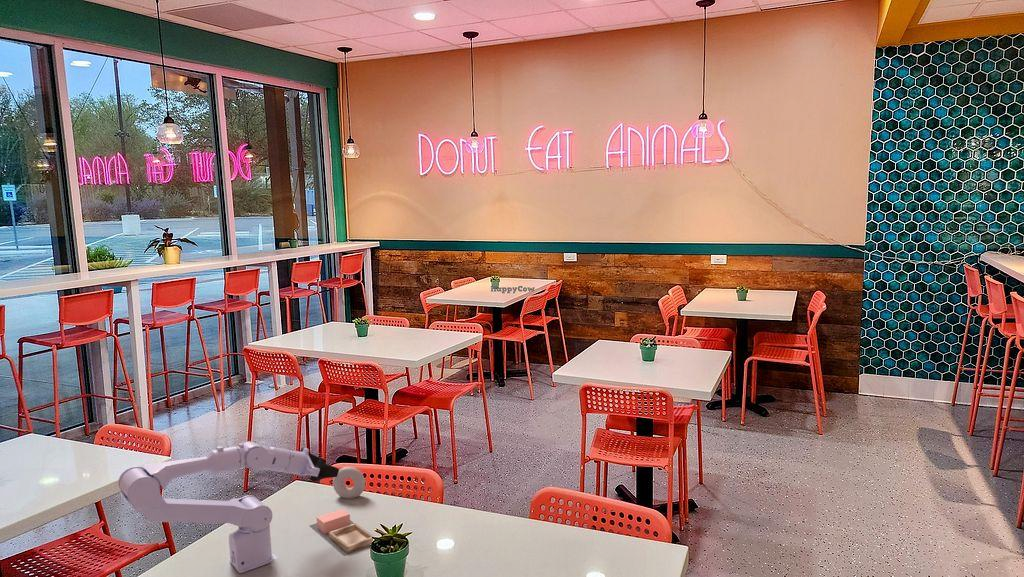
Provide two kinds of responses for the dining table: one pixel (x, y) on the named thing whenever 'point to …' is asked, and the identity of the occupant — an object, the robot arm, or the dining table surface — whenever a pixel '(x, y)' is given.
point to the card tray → (351, 537)
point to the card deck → (333, 521)
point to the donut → (356, 477)
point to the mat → (326, 537)
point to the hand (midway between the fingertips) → (331, 468)
